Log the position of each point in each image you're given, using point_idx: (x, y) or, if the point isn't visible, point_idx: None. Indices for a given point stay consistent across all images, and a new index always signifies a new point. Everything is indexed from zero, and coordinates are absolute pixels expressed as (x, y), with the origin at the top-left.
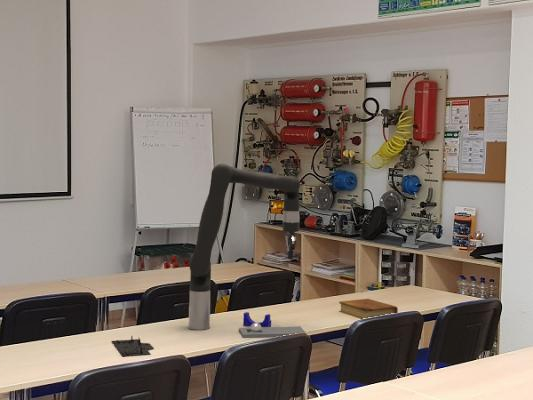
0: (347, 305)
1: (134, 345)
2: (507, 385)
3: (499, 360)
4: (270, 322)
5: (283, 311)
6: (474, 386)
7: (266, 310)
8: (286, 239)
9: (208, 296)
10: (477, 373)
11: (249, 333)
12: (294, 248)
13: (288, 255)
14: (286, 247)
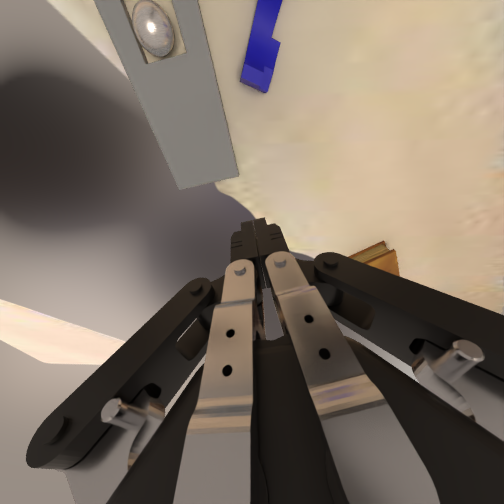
0: (367, 261)
1: None
2: (65, 356)
3: None
4: (260, 89)
5: (428, 126)
6: (39, 343)
7: (464, 67)
8: (335, 376)
9: None
10: (91, 345)
11: (107, 2)
12: (193, 330)
13: (241, 237)
14: (330, 257)
